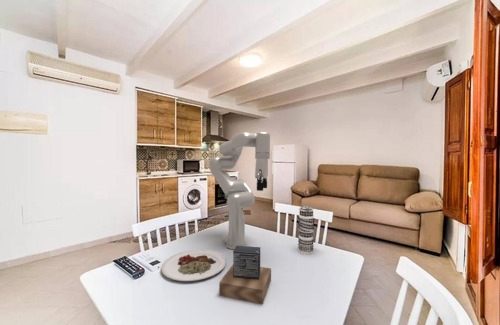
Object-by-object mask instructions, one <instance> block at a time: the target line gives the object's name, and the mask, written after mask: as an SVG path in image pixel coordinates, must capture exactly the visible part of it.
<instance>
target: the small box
mask: <svg viewBox="0 0 500 325" xmlns="http://www.w3.org/2000/svg"><path fill="white" fill-rule="evenodd" d="M232 253H233V254H232V255H233V256H232V257H233V259H232V260H233V261H232V262H233V263H232V265H233V277H238V278H250V279H259V276H260V267H261V246H248V245H247V246H236V247H235V249H233V252H232Z"/></svg>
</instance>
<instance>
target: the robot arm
mask: <svg viewBox="0 0 500 325" xmlns="http://www.w3.org/2000/svg"><path fill="white" fill-rule="evenodd" d="M244 147H245V148H249V147H250V148H255V149H254V151H255V152H254V153H255V154H254V155H255V156H254V158H255V171H254V172H255V173H254V178H255V179H256V191H259V192H263V191H264V189H268V176H269V160H270V159H271V153H270V152H271V134H270V132H267V131H260V132H259V131H258V132H256V133H255V132H247V131H245V132H238V133H237V134H234V135H233V136H232V138H231V139H230V140H228V141H225V142H223V143H221V144H220V145H219V152H220V153H221V155H219V156H218V155H217V156H213V157H212V158H211V157H210V159H209V162H208V167H209V171H210V173H211V175H212V177H213V178H214V179H215V180H216V181H217V183H218V185H219V188H221V190H222V191H223V193H224V194H225V195H227V199H226V202H227V209H228V236H223V237H222V242H226V243H225V247H226V248H228V249H230V250H234V249H235V247H236V246H248V243H247V241H246V240H245V236H246V235H245V234H246V233H245V227H246V226H245V224H246V219H245V218H246V216H245V212H244V211H243V209H246V208H250V207H252V206H254V205H255V203H256V197H255V195H254V193H253V191H252V190H251V188H250V187H249V185H248V184H247V183H246V181H245V180H243V179H237V178H236V179H233V178H232V177H231V175H230V174H229V173H228V172H227V171H226V170H230V169H233V168H235V166H236V165H237V162H238V161H239V159H240V157H241V155H242V152H243V149H244ZM222 155H224V156H222Z"/></svg>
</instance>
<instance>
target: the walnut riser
mask: <svg viewBox="0 0 500 325" xmlns="http://www.w3.org/2000/svg"><path fill="white" fill-rule="evenodd" d="M271 281H272V268H270V267H265V266H260V276H259V279H250V278H238V277H233V264H231V266H230V268H229V269H228V270H227V272H226V273H225V274H224V276H223V277H221V280H220V281H219V284H218V285H219V286H218V287H219V288H218V289H219V290H218V291H219V292H218V294H219V296H222V297H227V298H232V299H237V300H241V301H246V302H251V303H256V304H262V305H263V304H264V301H265V298H266V296H267V294H268V290H269V287H270V283H271Z"/></svg>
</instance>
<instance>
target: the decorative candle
mask: <svg viewBox="0 0 500 325" xmlns="http://www.w3.org/2000/svg"><path fill="white" fill-rule="evenodd" d="M298 210H299V211H298V212H299V214H298V216H297V219H298V220H297V222H298V223H297V225H298V229H297V230H298V238H297V239H298V244H297V245H298V246H297V249H298V252H299V253H301V254H305V255H311V254H313V253H314V231H315V230H314V229H315V227H314V226H315V224H314V223H315V220H316V219H315V218H314V209H313V208H312V207H311V206H308V205H303V206H301V207H299V209H298Z"/></svg>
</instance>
